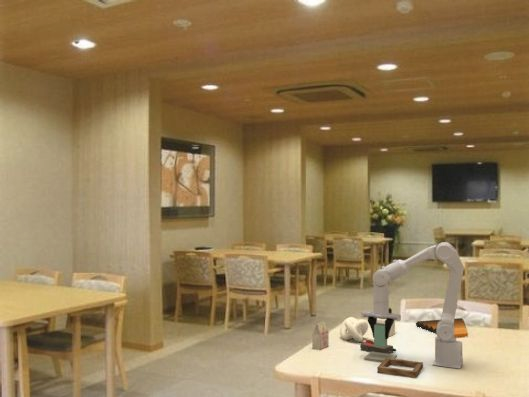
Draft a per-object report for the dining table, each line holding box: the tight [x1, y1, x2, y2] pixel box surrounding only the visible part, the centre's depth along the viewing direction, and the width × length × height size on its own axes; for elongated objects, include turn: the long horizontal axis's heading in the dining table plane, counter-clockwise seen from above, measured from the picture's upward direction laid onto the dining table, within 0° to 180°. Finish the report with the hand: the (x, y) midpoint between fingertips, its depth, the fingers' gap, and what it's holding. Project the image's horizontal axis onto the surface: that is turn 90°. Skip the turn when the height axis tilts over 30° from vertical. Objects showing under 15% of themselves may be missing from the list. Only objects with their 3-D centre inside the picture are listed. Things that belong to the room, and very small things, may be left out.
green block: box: [373, 323, 388, 348], centre depth 209 cm, size 4×4×8 cm
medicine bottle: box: [377, 307, 396, 338], centre depth 248 cm, size 7×7×12 cm
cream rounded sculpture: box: [339, 316, 369, 341], centre depth 238 cm, size 11×12×9 cm
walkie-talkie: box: [354, 338, 397, 354], centre depth 222 cm, size 9×4×20 cm
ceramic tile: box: [363, 352, 398, 363], centre depth 209 cm, size 10×10×1 cm
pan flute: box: [415, 317, 469, 339], centre depth 257 cm, size 25×3×25 cm
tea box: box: [311, 321, 330, 351], centre depth 224 cm, size 4×7×10 cm, turn 145°
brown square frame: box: [377, 358, 424, 379], centre depth 194 cm, size 13×13×2 cm
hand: (380, 337), depth 209 cm, fingers closed on green block, 4 cm apart
